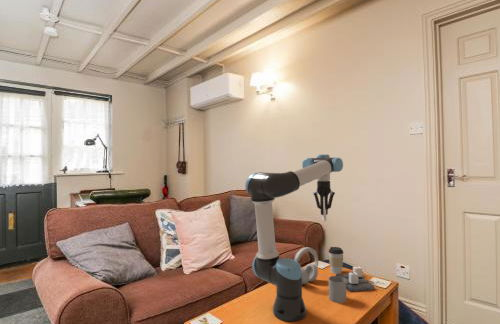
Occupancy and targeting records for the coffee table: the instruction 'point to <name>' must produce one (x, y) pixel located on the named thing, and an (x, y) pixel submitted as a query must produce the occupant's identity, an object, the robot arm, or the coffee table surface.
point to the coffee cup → (336, 259)
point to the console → (361, 285)
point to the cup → (337, 289)
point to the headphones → (308, 266)
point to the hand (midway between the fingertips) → (324, 220)
